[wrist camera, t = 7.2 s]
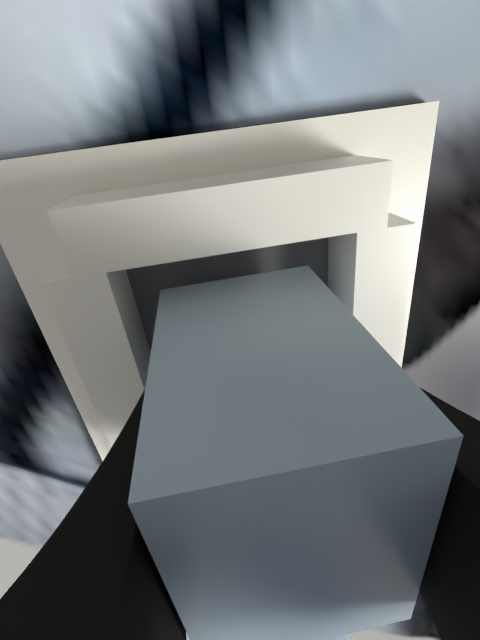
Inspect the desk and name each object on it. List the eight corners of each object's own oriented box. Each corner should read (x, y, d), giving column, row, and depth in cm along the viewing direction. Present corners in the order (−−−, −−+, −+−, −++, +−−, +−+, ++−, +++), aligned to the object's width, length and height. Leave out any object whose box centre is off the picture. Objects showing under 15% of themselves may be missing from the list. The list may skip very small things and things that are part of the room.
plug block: (310, 403, 12) (410, 618, 7) (194, 425, 12) (203, 667, 6) (308, 265, 9) (463, 436, 4) (160, 289, 9) (127, 503, 4)
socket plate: (387, 419, 15) (420, 466, 13) (115, 472, 15) (102, 532, 12) (427, 102, 9) (500, 94, 7) (-26, 163, 9) (-96, 175, 7)
